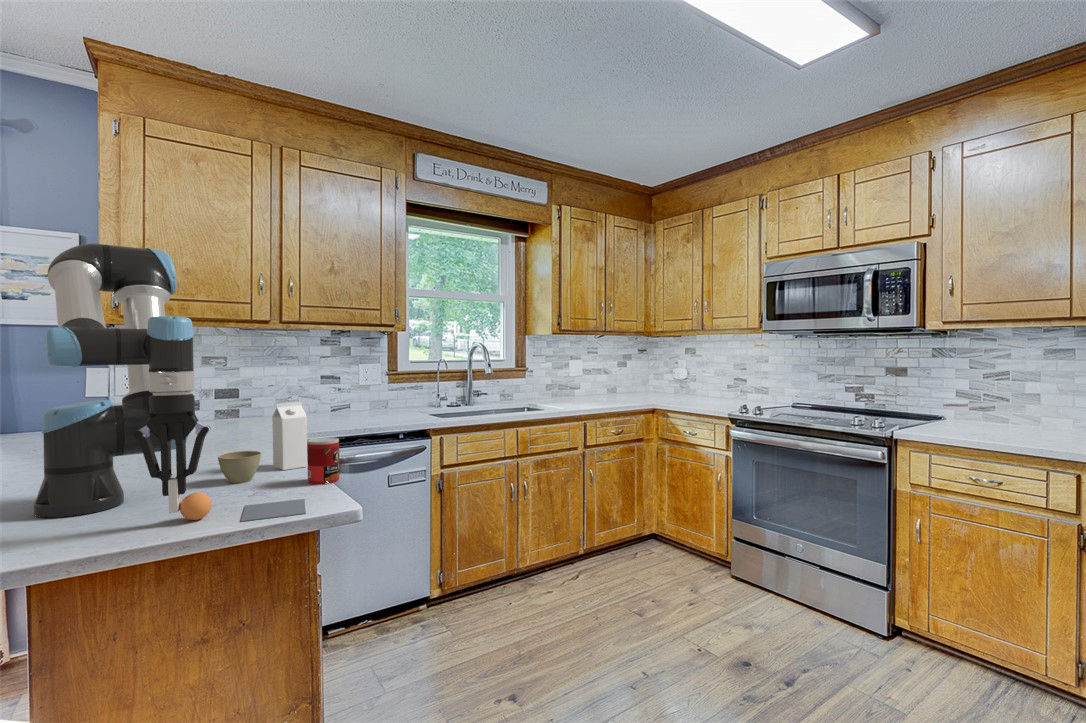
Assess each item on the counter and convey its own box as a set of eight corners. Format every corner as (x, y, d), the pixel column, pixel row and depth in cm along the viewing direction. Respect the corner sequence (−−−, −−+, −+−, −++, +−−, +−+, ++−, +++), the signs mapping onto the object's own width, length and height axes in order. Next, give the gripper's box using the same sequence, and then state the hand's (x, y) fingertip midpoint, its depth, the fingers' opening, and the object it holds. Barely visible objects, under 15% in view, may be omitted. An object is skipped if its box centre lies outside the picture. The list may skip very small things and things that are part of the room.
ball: (170, 513, 107) (191, 491, 108) (176, 505, 112) (196, 484, 113) (195, 529, 109) (216, 506, 110) (200, 520, 114) (219, 498, 115)
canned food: (329, 485, 138) (328, 442, 138) (301, 484, 140) (300, 441, 140) (345, 478, 146) (345, 437, 146) (319, 477, 147) (318, 436, 147)
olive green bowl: (209, 485, 139) (208, 457, 139) (237, 476, 149) (236, 450, 149) (243, 486, 138) (243, 458, 138) (269, 477, 148) (269, 451, 147)
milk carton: (273, 467, 160) (271, 403, 160) (297, 463, 165) (296, 401, 165) (283, 470, 155) (281, 404, 155) (307, 466, 161) (306, 402, 160)
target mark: (240, 521, 109) (240, 520, 109) (245, 506, 120) (245, 505, 120) (305, 513, 114) (305, 512, 114) (304, 499, 125) (304, 498, 125)
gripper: (126, 396, 103) (129, 520, 103) (206, 393, 108) (209, 511, 108) (138, 394, 110) (141, 510, 110) (212, 391, 115) (215, 502, 115)
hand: (174, 511), depth 109 cm, fingers closed
